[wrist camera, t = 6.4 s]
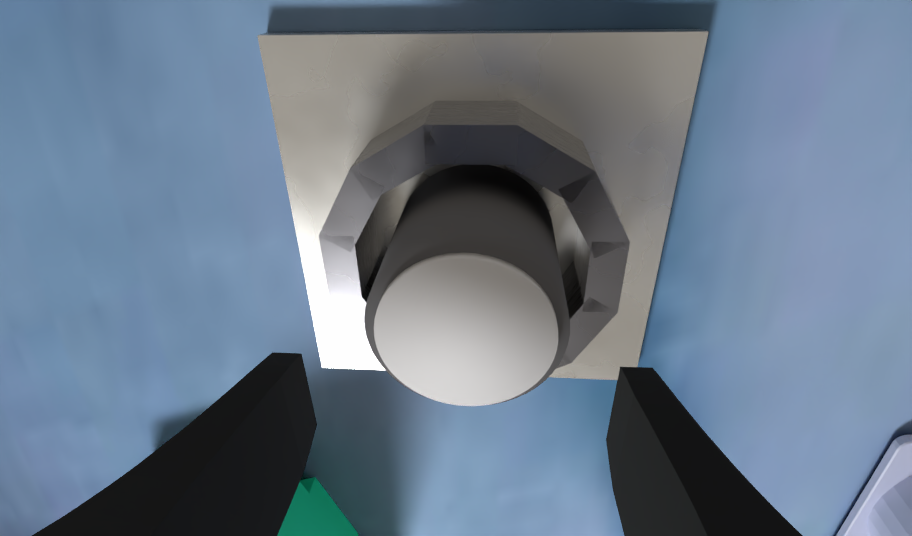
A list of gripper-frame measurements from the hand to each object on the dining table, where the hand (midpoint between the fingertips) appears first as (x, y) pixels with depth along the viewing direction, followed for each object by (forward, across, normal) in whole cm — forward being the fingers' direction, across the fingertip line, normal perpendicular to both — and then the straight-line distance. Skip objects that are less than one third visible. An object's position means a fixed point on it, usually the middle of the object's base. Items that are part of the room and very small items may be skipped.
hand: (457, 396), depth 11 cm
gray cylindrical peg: (+7, 0, 0) cm, 7 cm away
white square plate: (+8, 0, 0) cm, 8 cm away
